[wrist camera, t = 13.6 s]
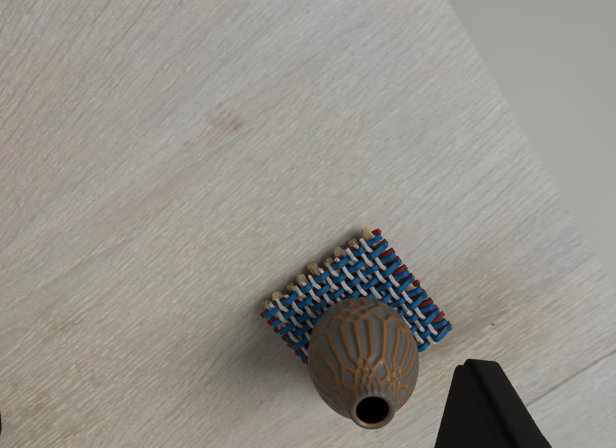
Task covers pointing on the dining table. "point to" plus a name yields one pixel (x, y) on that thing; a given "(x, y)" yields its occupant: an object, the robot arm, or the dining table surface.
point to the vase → (363, 360)
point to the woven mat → (355, 294)
